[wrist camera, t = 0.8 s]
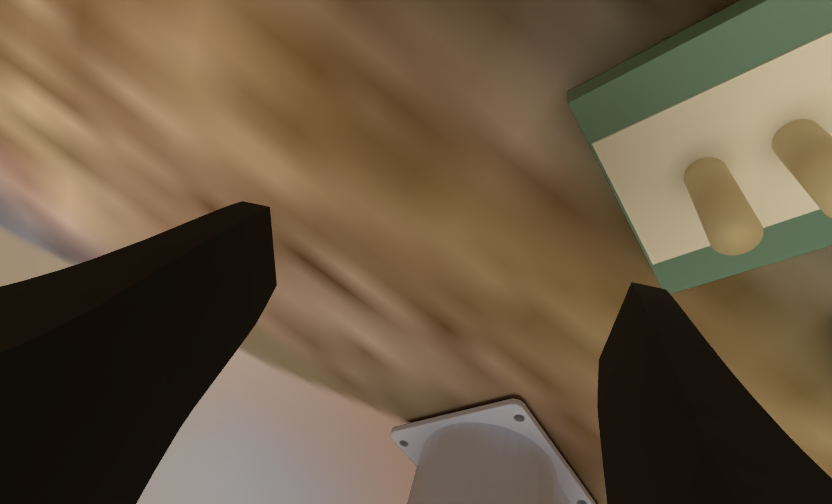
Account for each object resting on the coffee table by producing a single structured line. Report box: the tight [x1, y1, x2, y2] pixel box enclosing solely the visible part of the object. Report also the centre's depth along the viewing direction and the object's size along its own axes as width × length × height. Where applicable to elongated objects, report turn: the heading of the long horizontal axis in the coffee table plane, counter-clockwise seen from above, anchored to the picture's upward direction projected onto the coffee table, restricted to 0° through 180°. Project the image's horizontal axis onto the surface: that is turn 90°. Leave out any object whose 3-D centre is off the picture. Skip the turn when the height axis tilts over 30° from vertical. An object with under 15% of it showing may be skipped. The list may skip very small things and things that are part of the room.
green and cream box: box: [568, 0, 832, 294], centre depth 14 cm, size 8×10×5 cm
